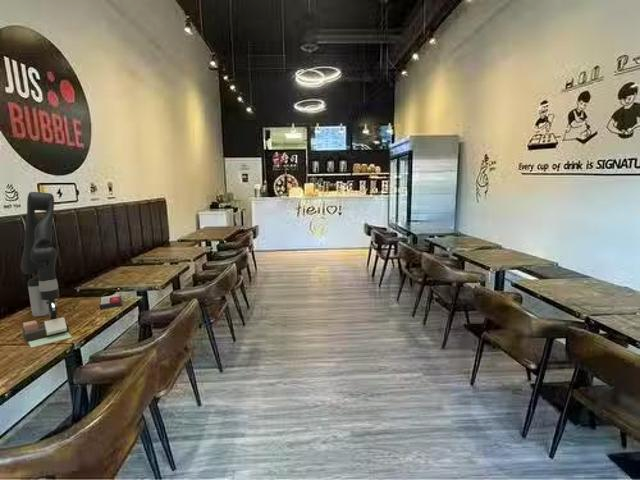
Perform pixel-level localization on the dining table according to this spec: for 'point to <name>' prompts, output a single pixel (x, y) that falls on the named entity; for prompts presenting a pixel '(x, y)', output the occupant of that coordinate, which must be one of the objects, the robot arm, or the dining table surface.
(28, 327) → the salmon pink block
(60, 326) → the cream tile
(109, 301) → the red and white box
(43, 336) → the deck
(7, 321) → the dining table surface
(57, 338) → the mat
